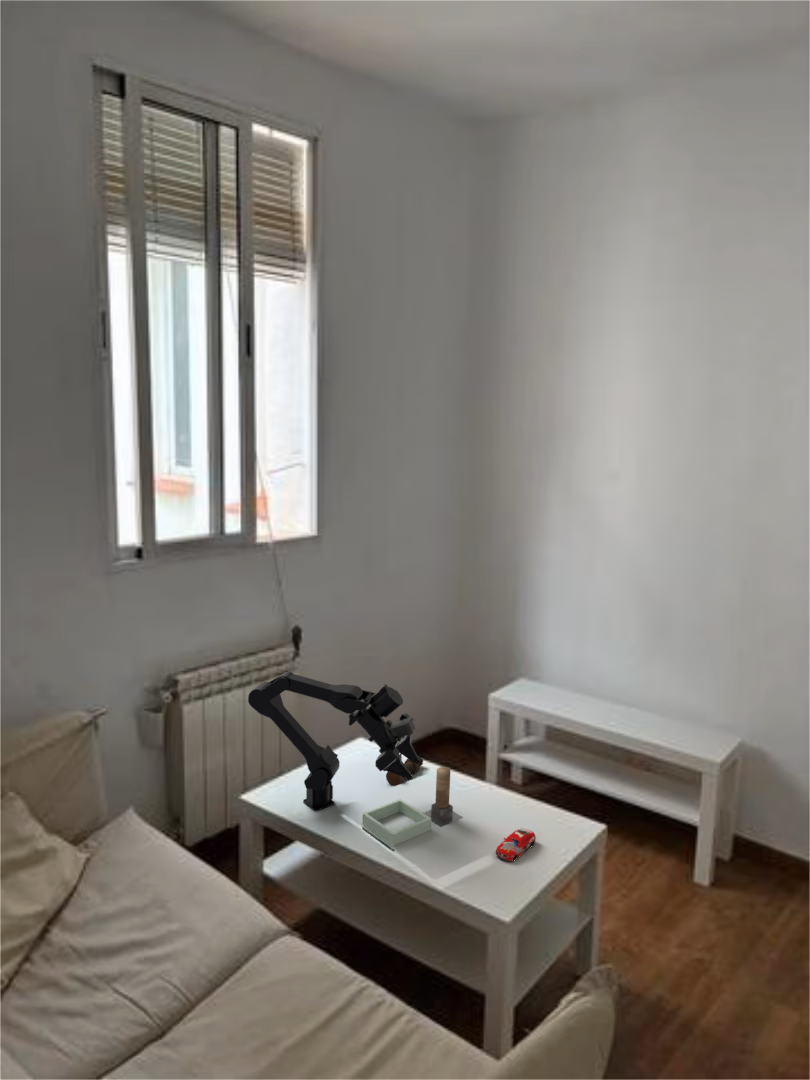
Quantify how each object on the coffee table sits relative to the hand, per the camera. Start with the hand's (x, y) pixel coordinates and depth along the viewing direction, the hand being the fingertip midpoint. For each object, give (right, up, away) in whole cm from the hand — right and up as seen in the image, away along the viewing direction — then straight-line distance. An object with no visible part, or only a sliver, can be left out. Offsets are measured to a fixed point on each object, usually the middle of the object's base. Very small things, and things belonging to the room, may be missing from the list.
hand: (415, 770), depth 210 cm
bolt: (-2, -9, +25) cm, 27 cm away
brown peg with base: (+7, -12, +1) cm, 14 cm away
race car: (+25, -17, -11) cm, 32 cm away
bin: (-5, -14, -5) cm, 16 cm away
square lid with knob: (+7, -14, +1) cm, 15 cm away
